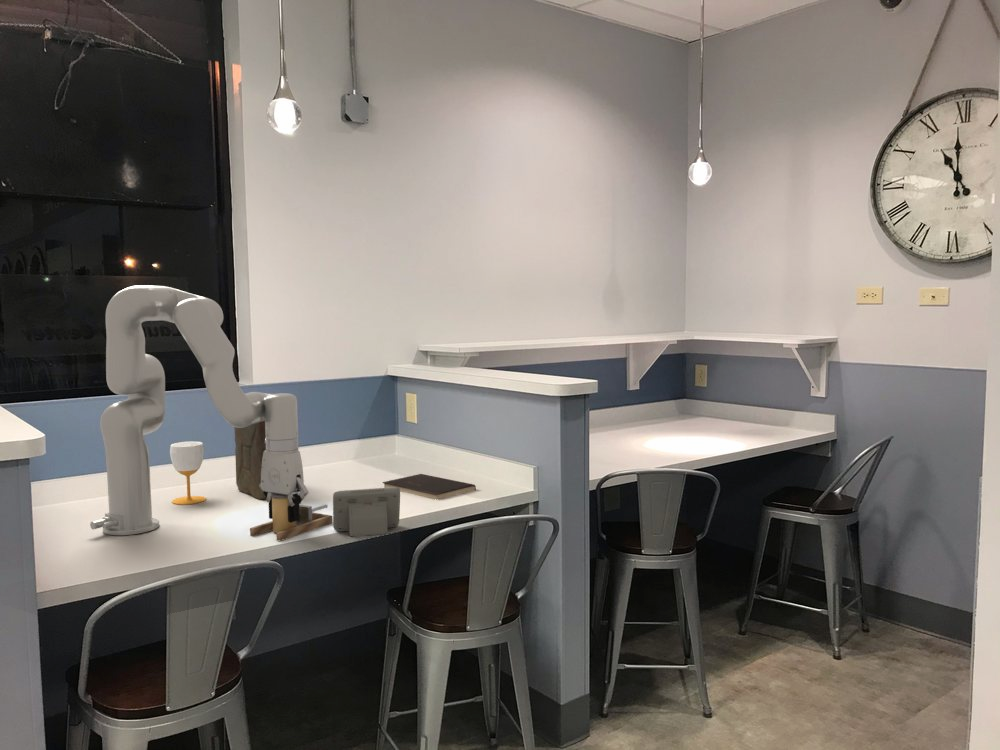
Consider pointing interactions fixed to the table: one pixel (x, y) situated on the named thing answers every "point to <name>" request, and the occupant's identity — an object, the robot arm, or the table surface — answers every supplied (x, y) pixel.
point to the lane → (316, 522)
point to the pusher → (307, 513)
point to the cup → (187, 466)
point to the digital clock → (366, 510)
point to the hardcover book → (429, 486)
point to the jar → (281, 513)
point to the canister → (250, 458)
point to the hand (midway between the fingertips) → (284, 518)
